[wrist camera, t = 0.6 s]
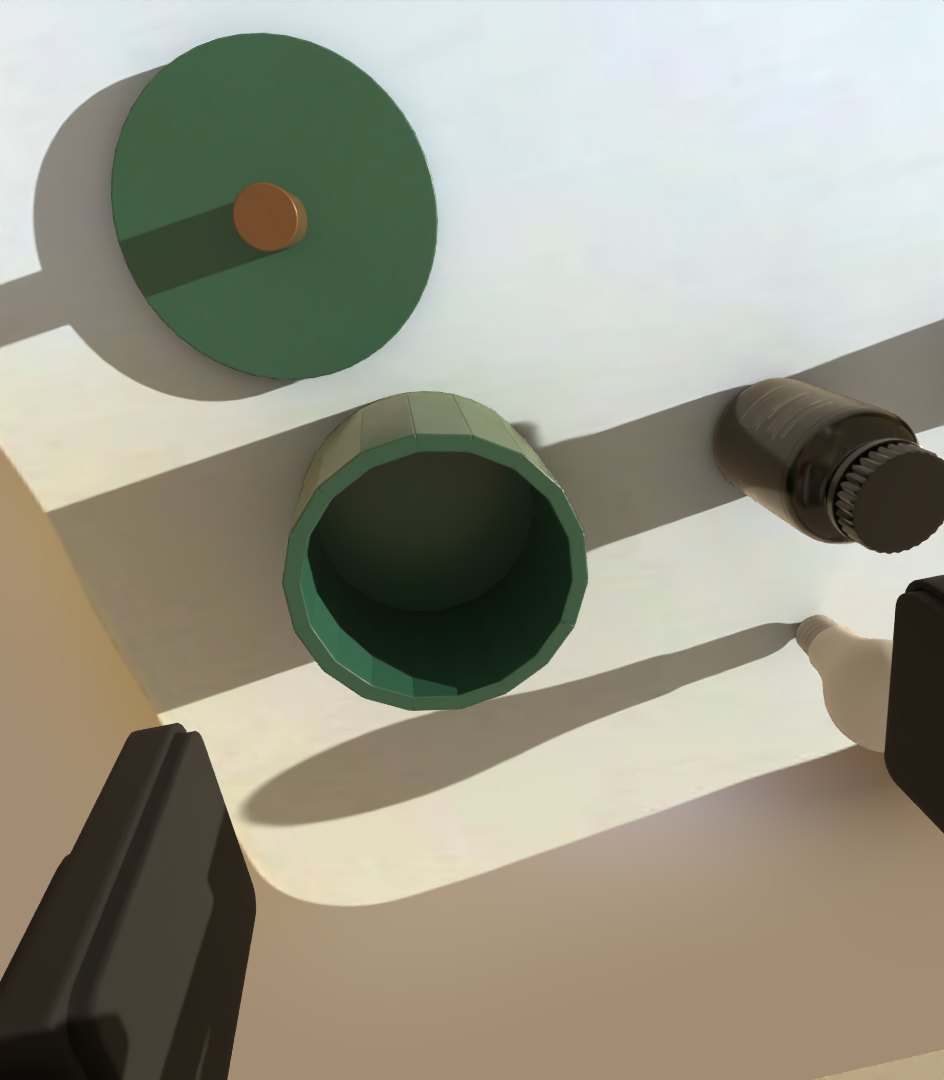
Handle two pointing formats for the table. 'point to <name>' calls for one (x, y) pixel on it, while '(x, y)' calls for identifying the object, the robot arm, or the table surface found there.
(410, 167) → the tin lid
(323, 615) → the tin
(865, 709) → the lightbulb
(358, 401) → the table surface
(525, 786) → the table surface
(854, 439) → the supplement bottle
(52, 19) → the table surface
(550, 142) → the table surface
